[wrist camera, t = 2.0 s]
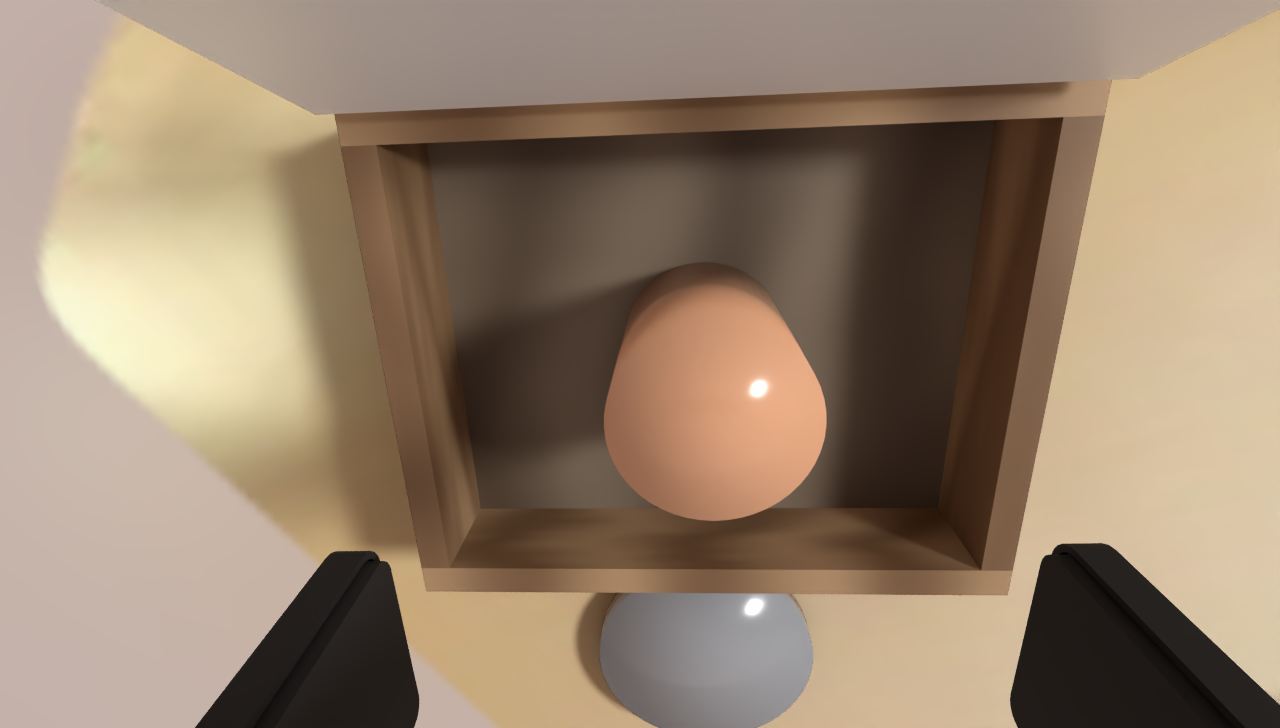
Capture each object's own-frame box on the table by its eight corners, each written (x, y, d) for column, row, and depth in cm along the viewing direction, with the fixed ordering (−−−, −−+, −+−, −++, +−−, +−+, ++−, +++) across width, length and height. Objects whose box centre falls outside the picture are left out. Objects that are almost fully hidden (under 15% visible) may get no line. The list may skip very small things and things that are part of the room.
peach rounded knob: (785, 259, 21) (833, 317, 15) (779, 410, 23) (820, 520, 17) (621, 264, 22) (597, 323, 15) (628, 412, 24) (609, 520, 17)
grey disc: (814, 556, 26) (819, 572, 25) (802, 719, 29) (807, 739, 28) (595, 555, 26) (592, 571, 25) (607, 715, 29) (605, 734, 29)
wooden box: (1029, 82, 19) (1113, 71, 16) (957, 524, 25) (1007, 595, 21) (395, 110, 21) (333, 107, 17) (462, 525, 26) (426, 591, 22)
